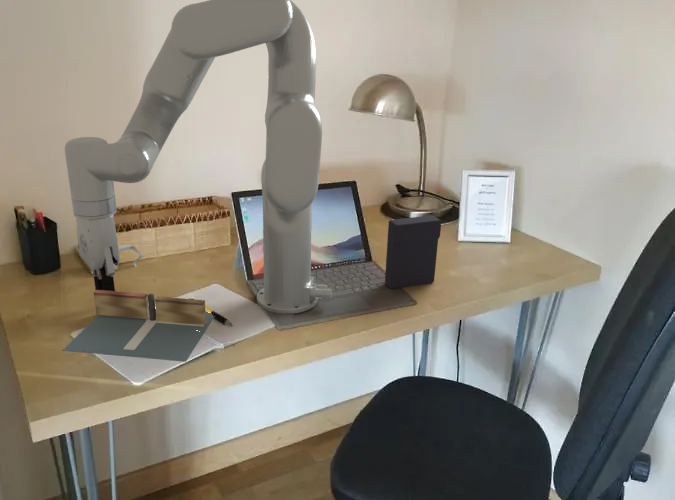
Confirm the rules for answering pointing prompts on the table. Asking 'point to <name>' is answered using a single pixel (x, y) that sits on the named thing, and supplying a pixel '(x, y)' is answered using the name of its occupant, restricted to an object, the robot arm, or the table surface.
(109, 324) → the card
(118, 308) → the fence gate
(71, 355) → the table surface
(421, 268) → the dark navy box
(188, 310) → the fence fixed
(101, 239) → the robot arm
